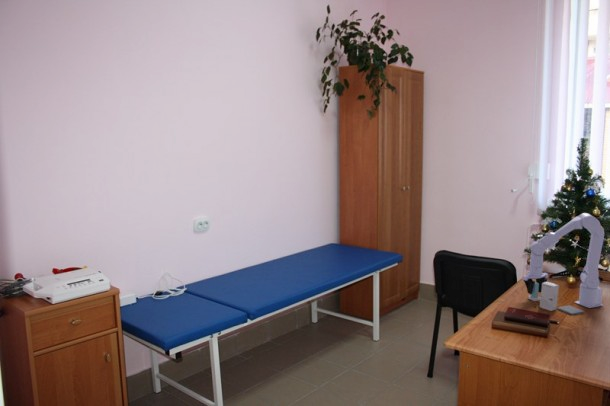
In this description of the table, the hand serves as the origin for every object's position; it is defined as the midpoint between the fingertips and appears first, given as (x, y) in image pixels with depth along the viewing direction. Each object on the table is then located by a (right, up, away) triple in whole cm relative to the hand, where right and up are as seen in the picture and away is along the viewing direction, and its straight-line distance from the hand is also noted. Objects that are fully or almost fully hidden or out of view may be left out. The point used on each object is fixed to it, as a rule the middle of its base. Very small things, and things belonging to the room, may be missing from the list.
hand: (534, 292), depth 231 cm
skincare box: (+1, -5, -12) cm, 13 cm away
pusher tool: (0, -3, 0) cm, 3 cm away
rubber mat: (+9, -6, -15) cm, 19 cm away
